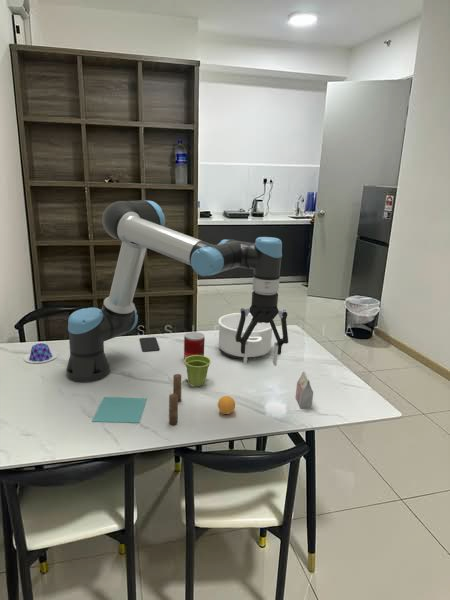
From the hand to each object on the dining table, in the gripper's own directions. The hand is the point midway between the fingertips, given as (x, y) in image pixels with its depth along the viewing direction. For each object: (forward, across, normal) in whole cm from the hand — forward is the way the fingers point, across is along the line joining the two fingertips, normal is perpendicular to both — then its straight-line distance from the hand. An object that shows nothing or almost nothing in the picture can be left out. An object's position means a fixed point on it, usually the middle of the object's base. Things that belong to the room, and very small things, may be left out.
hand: (259, 363), depth 126 cm
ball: (+15, -10, 0) cm, 17 cm away
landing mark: (+17, -42, 0) cm, 46 cm away
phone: (+18, -42, +52) cm, 69 cm away
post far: (+17, -26, +6) cm, 31 cm away
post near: (+17, -26, -6) cm, 31 cm away
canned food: (+18, -22, +37) cm, 46 cm away
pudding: (+18, -82, +36) cm, 91 cm away
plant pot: (+18, -20, +19) cm, 32 cm away
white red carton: (+18, +16, +7) cm, 25 cm away
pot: (+18, 0, +48) cm, 51 cm away
